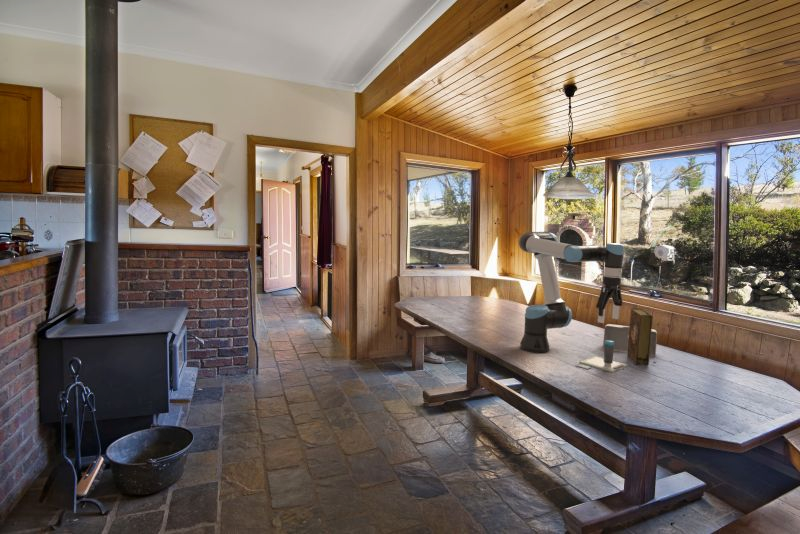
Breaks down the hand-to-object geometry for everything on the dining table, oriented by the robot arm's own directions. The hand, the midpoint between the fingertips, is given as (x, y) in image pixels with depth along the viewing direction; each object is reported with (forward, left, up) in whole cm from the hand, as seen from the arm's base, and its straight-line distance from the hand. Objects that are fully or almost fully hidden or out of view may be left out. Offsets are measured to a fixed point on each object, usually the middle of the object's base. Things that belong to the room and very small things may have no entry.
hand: (608, 320), depth 213 cm
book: (+5, +22, -22) cm, 32 cm away
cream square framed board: (-2, +2, -22) cm, 22 cm away
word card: (-6, -9, -22) cm, 25 cm away
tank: (-6, +39, -23) cm, 45 cm away
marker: (+2, -1, -21) cm, 22 cm away
